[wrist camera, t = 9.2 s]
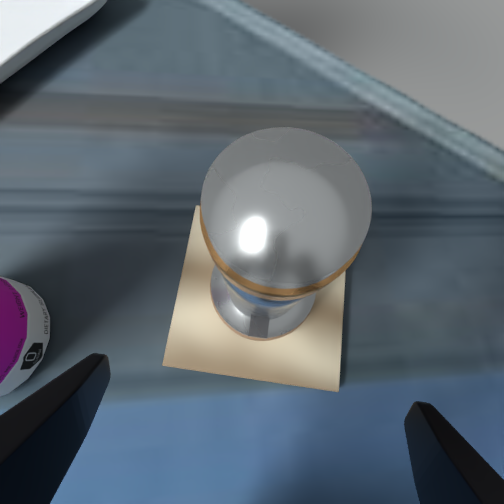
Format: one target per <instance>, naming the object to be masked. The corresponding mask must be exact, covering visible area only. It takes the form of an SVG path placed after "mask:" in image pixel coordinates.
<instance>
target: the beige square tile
mask: <svg viewBox="0 0 504 504" xmlns="http://www.w3.org/2000/svg"><path fill="white" fill-rule="evenodd" d="M214 266H215V264H214V262H213V260H212V258H211V256H210V253H209V251H208V249H207V246H206V244H205V241H204V238H203V235H202V231H201V225H200V206H197V205H196V208H195V213H194V218H193V223H192V227H191V232H190V237H189V242H188V246H187V251H186V256H185V260H184V265H183V270H182V275H181V279H180V284H179V289H178V294H177V298H176V303H175V308H174V313H173V317H172V322H171V327H170V331H169V336H168V341H167V346H166V350H165V355H164V360H163V365H162V366H169V367H176V368H182V369H189V370H195V371H202V372H209V373H215V374H222V375H228V376H235V377H242V378H248V379H255V380H262V381H268V382H275V383H281V384H288V385H295V386H301V387H308V388H315V389H321V390H328V391H334V392H339V378H340V360H341V343H342V325H343V308H344V290H345V273H346V270H345V271H344V272H343V273H342V274H341V275H340V276H339V277H338V278H336V279H335V280H334V281H332V282H331V283H330V284H328V285H327V286H325V287H324V288H322V289H321V290H319V291H318V292H316V296H315V300H314V304H313V306H312V308H311V310H310V312H309V314H308V315H307V317H306V318H305V319H304V320H303V322H302V323H300V324H299V325H298V326H297V327H296V328H294V329H293V330H291V331H289V332H287V333H285V334H283V335H280V336H277V337H272V338H267V339H262V338H254V337H249V336H246V335H244V334H242V333H240V332H238V331H236V330H235V329H233V328H232V327H231V326H230V325H229V324H227V323H226V321H225V320H224V319H223V318H222V317H221V315H220V314H219V312H218V310H217V309H216V306H215V304H214V302H213V298H212V293H211V276H212V272H213V268H214Z"/></svg>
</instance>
